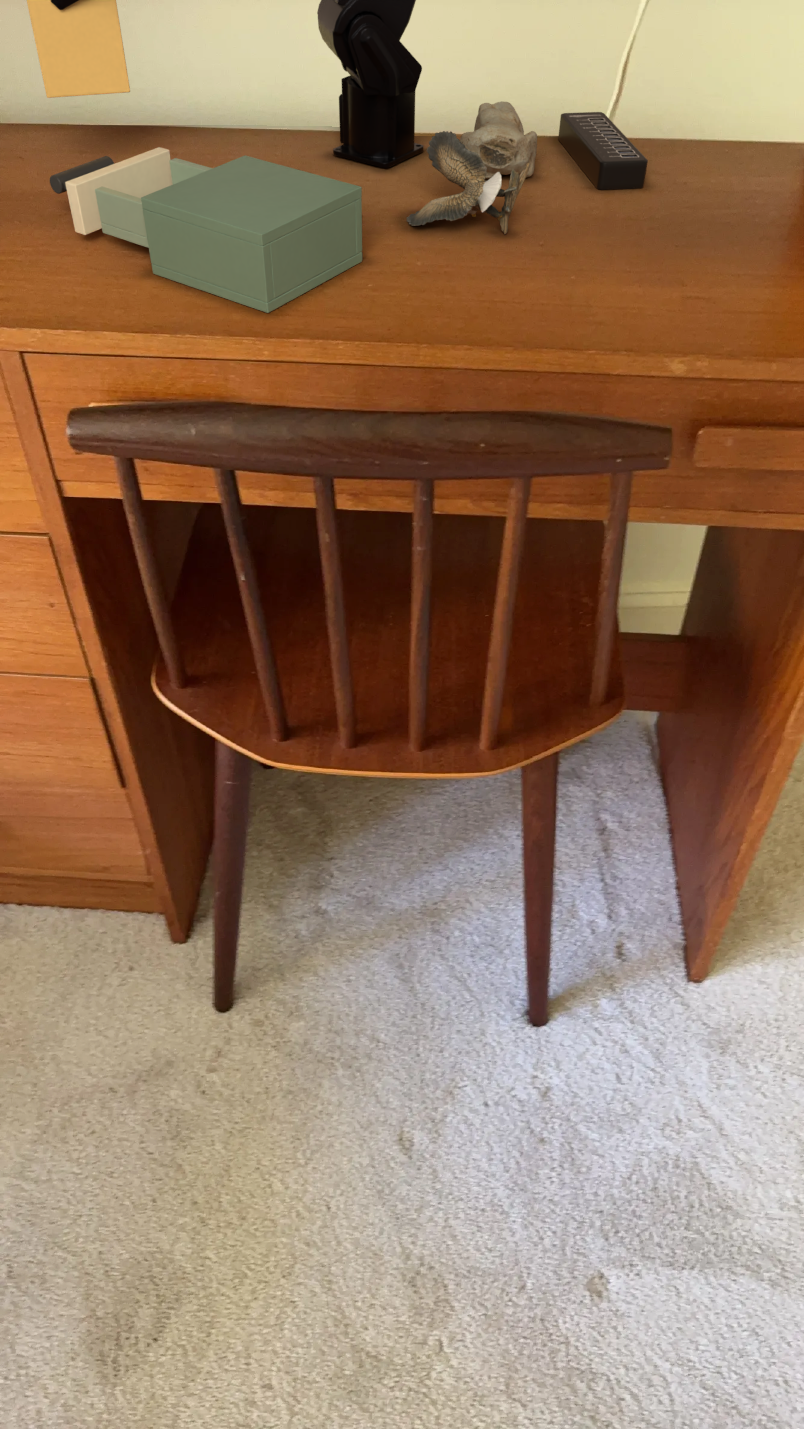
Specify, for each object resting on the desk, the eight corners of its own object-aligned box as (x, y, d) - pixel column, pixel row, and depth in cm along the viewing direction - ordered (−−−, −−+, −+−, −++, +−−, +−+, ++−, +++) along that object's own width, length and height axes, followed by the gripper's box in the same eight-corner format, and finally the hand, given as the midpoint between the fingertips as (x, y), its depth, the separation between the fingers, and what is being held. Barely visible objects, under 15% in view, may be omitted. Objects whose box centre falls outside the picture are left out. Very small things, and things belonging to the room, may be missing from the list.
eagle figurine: (526, 196, 89) (428, 162, 90) (536, 136, 82) (430, 100, 83) (495, 271, 88) (396, 237, 89) (502, 217, 81) (395, 180, 82)
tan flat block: (128, 84, 91) (106, -56, 84) (131, 92, 90) (109, -50, 82) (44, 89, 90) (14, -53, 83) (45, 98, 88) (15, -46, 81)
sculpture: (453, 145, 104) (458, 185, 93) (458, 90, 101) (464, 125, 90) (523, 150, 105) (537, 191, 93) (530, 96, 102) (546, 131, 90)
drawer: (34, 218, 85) (23, 168, 82) (127, 182, 91) (119, 135, 88) (170, 264, 79) (162, 212, 76) (259, 222, 85) (255, 172, 82)
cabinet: (152, 273, 80) (140, 197, 76) (251, 227, 87) (244, 154, 83) (268, 313, 75) (261, 234, 71) (362, 261, 82) (361, 186, 78)
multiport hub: (598, 189, 94) (601, 162, 92) (557, 138, 104) (559, 112, 102) (644, 187, 94) (649, 160, 93) (599, 136, 104) (603, 110, 103)
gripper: (69, -289, 80) (-39, -104, 86) (86, -277, 68) (-41, -61, 73) (186, -158, 87) (79, 5, 93) (221, -126, 75) (95, 60, 80)
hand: (54, 0), depth 85 cm, fingers closed on tan flat block, 2 cm apart
